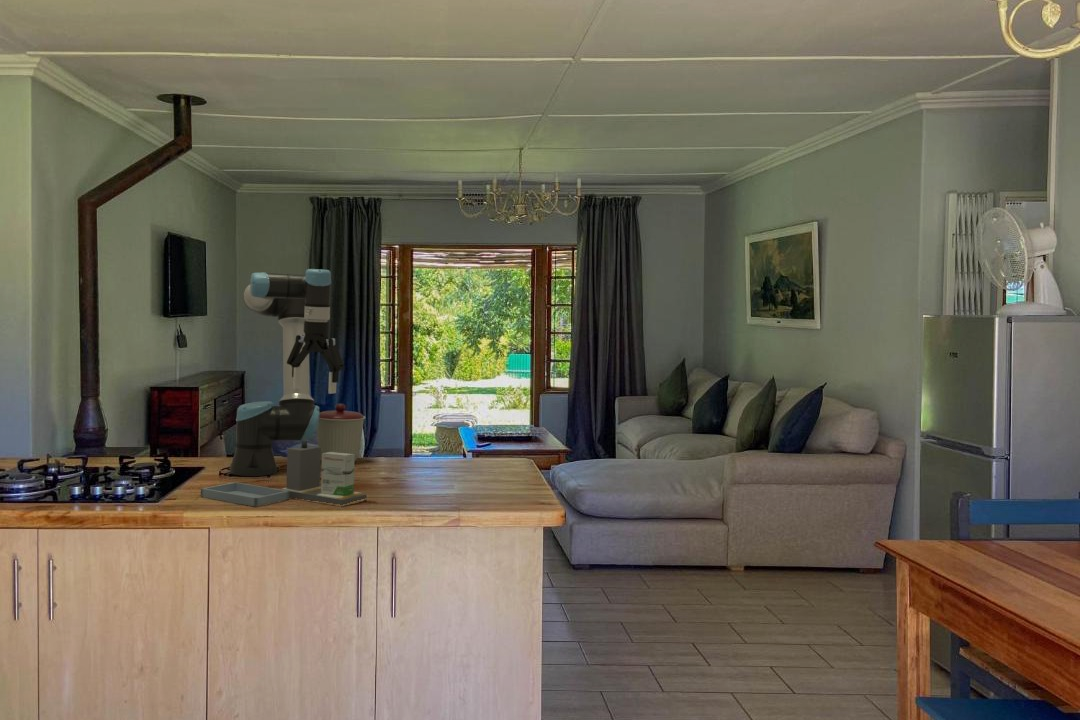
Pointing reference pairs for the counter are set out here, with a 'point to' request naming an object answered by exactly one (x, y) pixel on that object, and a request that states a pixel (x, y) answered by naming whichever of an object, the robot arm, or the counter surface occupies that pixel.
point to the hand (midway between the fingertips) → (314, 391)
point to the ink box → (337, 473)
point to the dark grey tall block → (303, 467)
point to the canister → (340, 431)
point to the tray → (245, 494)
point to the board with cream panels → (325, 496)
